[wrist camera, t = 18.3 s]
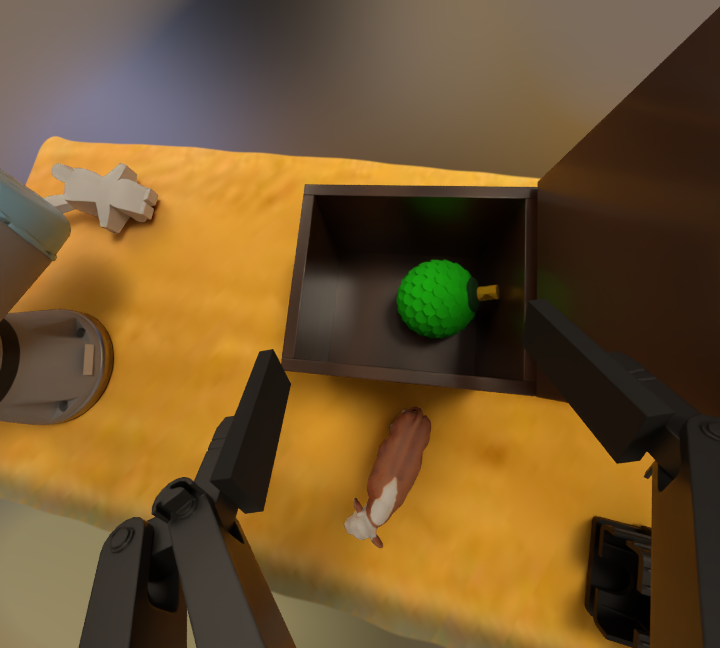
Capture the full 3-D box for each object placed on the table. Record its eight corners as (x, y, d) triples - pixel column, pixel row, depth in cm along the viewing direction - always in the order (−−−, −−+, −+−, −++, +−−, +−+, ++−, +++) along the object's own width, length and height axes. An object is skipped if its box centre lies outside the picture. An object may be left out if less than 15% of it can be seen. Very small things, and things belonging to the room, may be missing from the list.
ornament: (374, 320, 27) (482, 311, 21) (389, 253, 30) (488, 227, 24) (412, 350, 33) (506, 349, 27) (421, 291, 36) (508, 278, 30)
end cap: (663, 639, 27) (752, 729, 20) (583, 615, 28) (642, 693, 21) (669, 529, 28) (755, 579, 21) (592, 509, 29) (651, 552, 22)
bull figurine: (347, 496, 32) (331, 540, 24) (404, 394, 33) (407, 403, 25) (380, 520, 31) (375, 572, 23) (437, 414, 32) (452, 430, 24)
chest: (321, 369, 35) (279, 370, 22) (335, 247, 37) (304, 184, 24) (481, 384, 32) (538, 396, 19) (485, 253, 34) (539, 186, 22)
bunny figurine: (127, 227, 36) (17, 208, 37) (155, 243, 41) (59, 227, 42) (147, 162, 38) (40, 144, 38) (172, 185, 43) (78, 170, 43)
